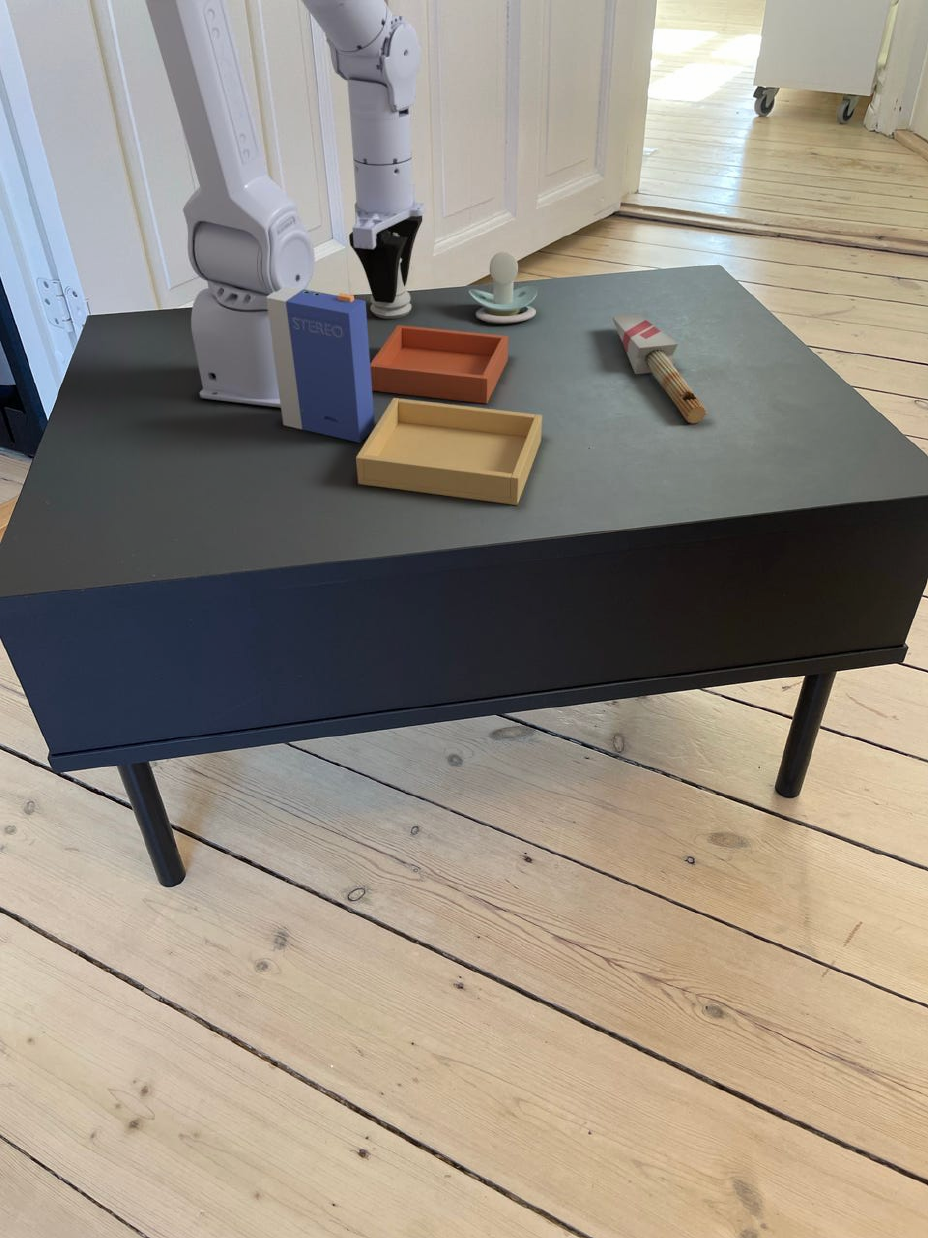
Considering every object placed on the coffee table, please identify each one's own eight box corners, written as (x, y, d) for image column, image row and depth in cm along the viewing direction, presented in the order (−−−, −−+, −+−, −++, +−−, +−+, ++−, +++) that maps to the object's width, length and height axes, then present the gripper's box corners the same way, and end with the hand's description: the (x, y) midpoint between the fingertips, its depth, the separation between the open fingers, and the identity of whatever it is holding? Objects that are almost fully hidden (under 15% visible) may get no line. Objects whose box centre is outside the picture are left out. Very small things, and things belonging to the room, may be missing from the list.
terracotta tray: (370, 390, 91) (368, 365, 89) (398, 348, 98) (397, 324, 96) (487, 403, 89) (487, 378, 87) (507, 359, 96) (508, 335, 94)
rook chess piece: (406, 321, 102) (402, 245, 97) (365, 318, 103) (359, 242, 98) (416, 304, 106) (413, 229, 101) (376, 301, 106) (371, 227, 101)
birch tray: (358, 484, 79) (355, 457, 77) (394, 422, 86) (393, 397, 85) (517, 505, 76) (518, 478, 75) (541, 440, 84) (542, 414, 82)
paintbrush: (644, 298, 99) (718, 399, 85) (640, 324, 101) (713, 426, 86) (608, 301, 98) (676, 403, 84) (605, 327, 100) (671, 431, 86)
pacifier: (543, 325, 102) (532, 300, 106) (546, 266, 98) (535, 243, 102) (474, 329, 101) (466, 304, 106) (474, 270, 97) (466, 247, 101)
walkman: (375, 428, 86) (365, 295, 78) (359, 443, 84) (348, 308, 76) (299, 410, 88) (282, 280, 80) (282, 424, 86) (263, 292, 78)
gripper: (400, 182, 88) (406, 325, 97) (441, 139, 99) (443, 271, 108) (327, 176, 90) (340, 318, 98) (375, 134, 100) (383, 265, 109)
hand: (390, 293), depth 103 cm, fingers closed on rook chess piece, 3 cm apart
